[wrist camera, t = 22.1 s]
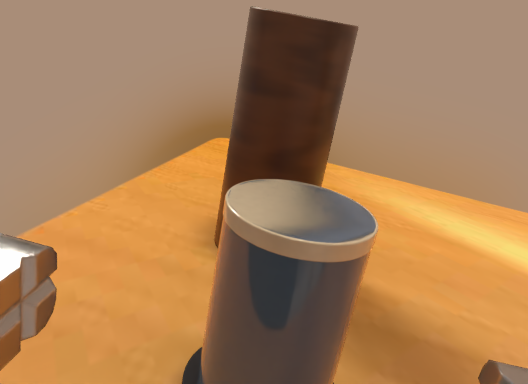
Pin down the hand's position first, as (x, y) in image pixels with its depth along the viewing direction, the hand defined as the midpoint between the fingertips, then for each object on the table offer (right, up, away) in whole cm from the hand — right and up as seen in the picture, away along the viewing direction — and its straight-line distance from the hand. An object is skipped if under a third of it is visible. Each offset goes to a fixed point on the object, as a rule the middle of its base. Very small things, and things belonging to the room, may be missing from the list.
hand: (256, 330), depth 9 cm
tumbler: (0, -7, +15) cm, 17 cm away
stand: (0, -2, +31) cm, 31 cm away
